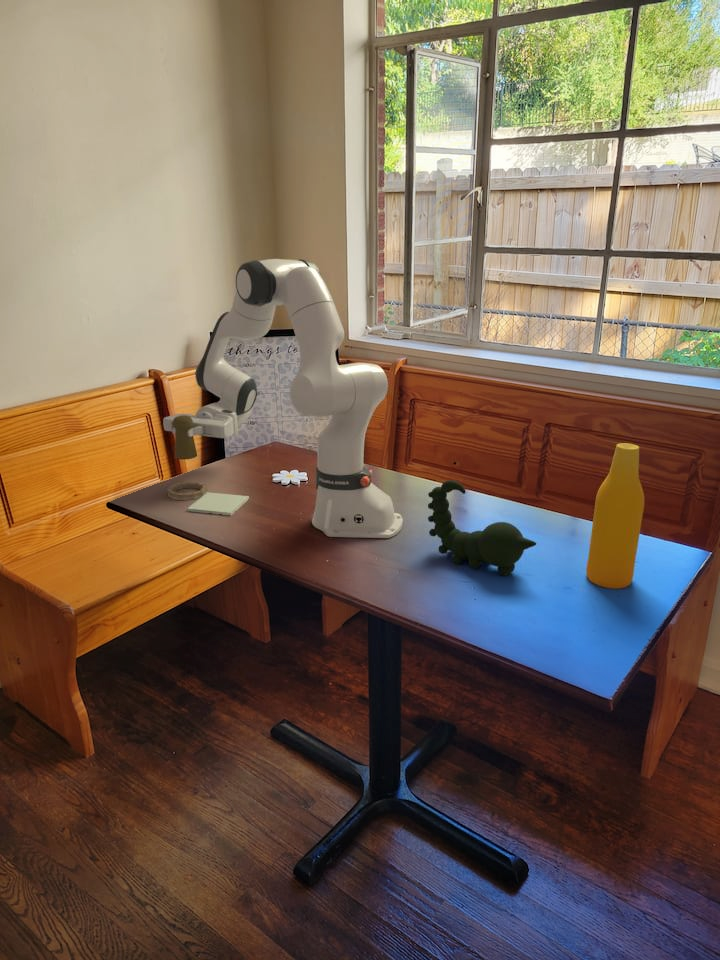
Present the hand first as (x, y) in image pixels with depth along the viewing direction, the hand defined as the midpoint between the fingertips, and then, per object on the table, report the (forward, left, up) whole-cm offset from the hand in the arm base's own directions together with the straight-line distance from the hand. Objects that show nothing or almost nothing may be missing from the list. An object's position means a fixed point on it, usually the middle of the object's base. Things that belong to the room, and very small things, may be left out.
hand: (180, 432), depth 182 cm
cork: (0, -1, -7) cm, 7 cm away
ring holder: (0, -1, -17) cm, 18 cm away
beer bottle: (-108, +23, -18) cm, 112 cm away
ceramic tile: (-12, +5, -17) cm, 22 cm away
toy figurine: (-81, +23, -18) cm, 86 cm away
